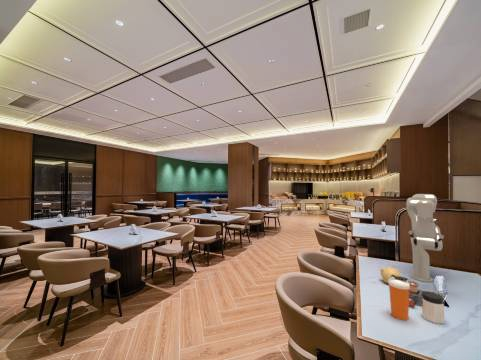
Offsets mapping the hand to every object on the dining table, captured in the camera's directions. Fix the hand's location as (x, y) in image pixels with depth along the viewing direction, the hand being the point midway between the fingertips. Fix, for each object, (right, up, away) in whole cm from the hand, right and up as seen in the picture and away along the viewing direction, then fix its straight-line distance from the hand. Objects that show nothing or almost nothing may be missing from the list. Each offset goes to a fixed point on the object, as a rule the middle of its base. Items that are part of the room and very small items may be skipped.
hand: (425, 246), depth 134 cm
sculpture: (-13, -30, +12) cm, 35 cm away
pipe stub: (-16, -29, -10) cm, 34 cm away
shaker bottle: (-37, -28, -26) cm, 53 cm away
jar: (-21, -28, -28) cm, 45 cm away
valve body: (-18, -29, -12) cm, 36 cm away
